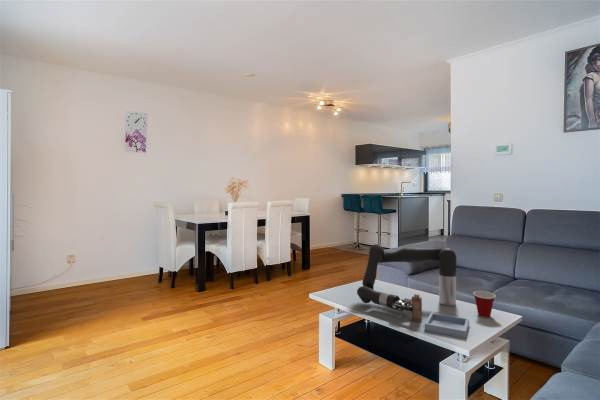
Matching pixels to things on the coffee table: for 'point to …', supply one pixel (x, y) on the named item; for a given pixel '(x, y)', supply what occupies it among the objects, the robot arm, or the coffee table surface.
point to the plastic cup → (484, 302)
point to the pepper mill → (417, 308)
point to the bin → (447, 325)
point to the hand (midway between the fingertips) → (416, 307)
